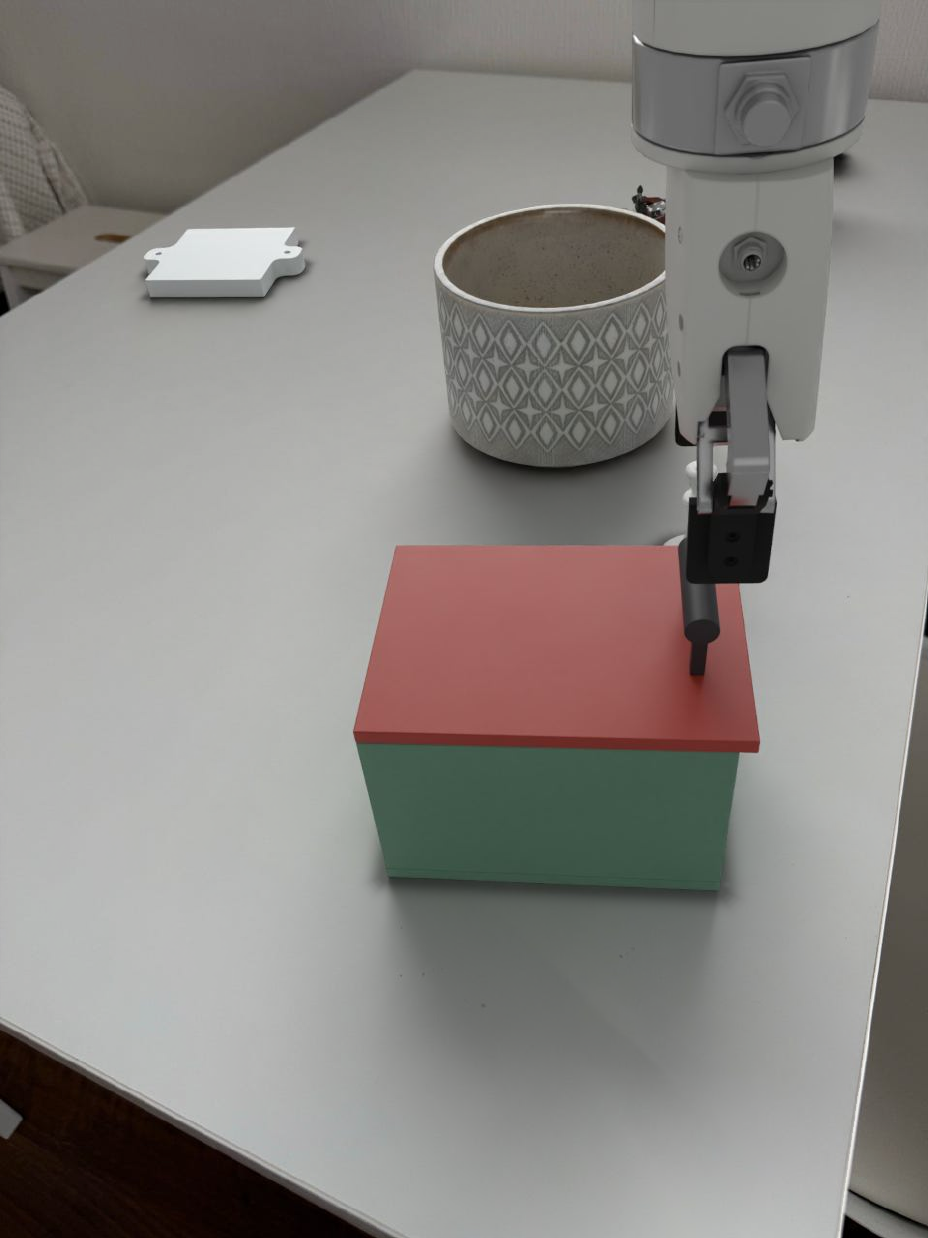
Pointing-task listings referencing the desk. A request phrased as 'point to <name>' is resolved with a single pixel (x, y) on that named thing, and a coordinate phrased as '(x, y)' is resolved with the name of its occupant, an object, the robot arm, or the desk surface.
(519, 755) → the box
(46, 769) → the desk surface
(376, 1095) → the desk surface
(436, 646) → the lid
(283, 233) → the mounting plate
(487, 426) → the planter
